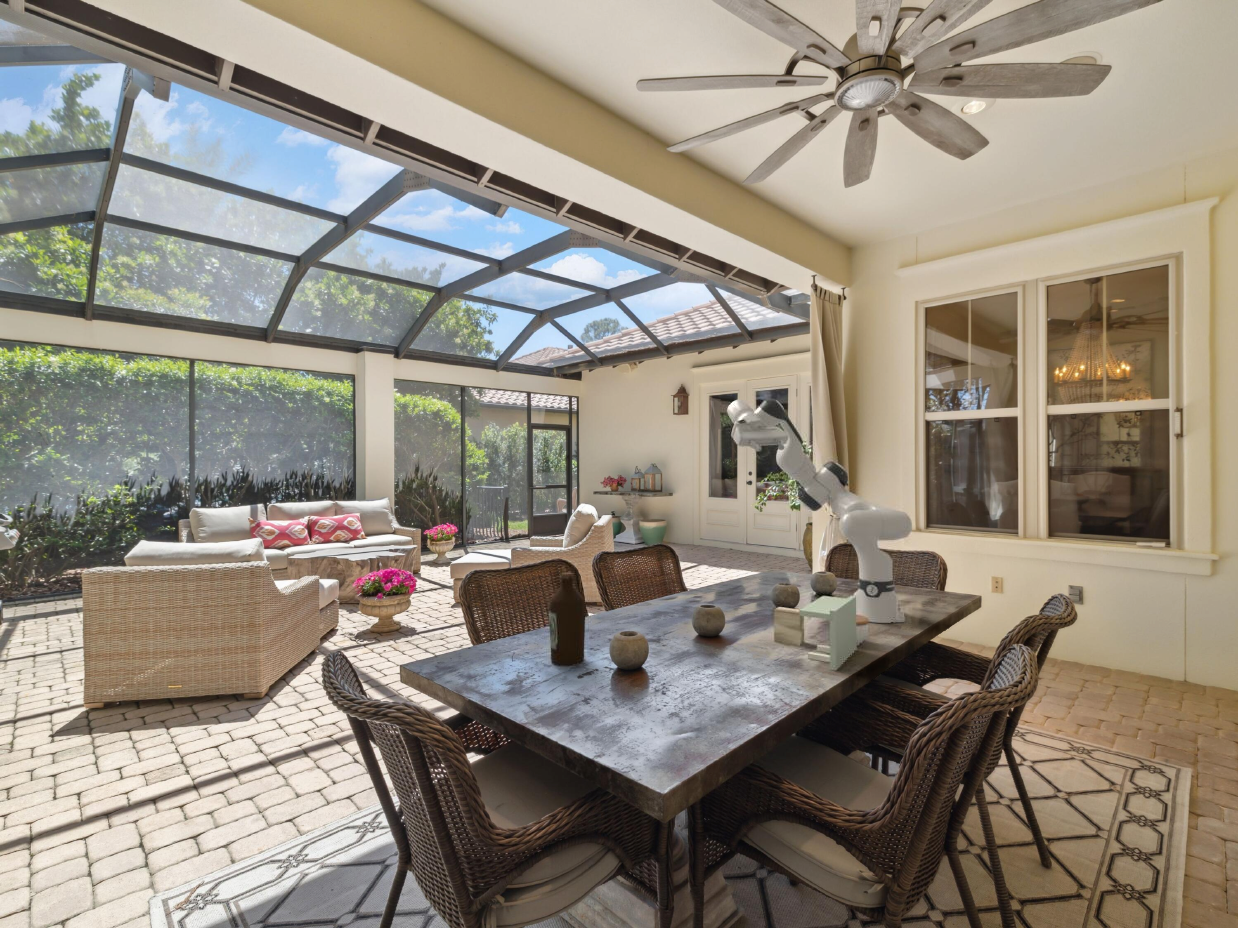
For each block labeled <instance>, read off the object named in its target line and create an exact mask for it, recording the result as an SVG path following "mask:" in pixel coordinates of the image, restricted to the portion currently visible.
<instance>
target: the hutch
mask: <svg viewBox="0 0 1238 928" xmlns="http://www.w3.org/2000/svg"><path fill="white" fill-rule="evenodd" d="M798 610H799V616H804V617H809V618H815V619H822V620H828V621H829V645H823V644H817V645H816V651H817V652H812V651H809V652H807V659H809V660H814V661H820V662H825V663H829V670H830V669H831V670H830V671H834V670H836V671H837V670H839V668H840V667H841V666H842V665H843V664H844V663H845V662H846V661H847V660H848V659H849V658H850V657H851V656H852V655H853V654H854V653H855V652H856V651H858V650H857V649H858V648H857V646H858V645H857V635H856V596H854V595H850V596H849V597H847V598H844V597H835V596H827V595H822V596H821V597H819V598H817V599H815V600H813V601H812V602H810V603H809V604H807V605H806V606H804V607H802V608H801V609H798ZM855 650H856V651H855ZM854 651H855V652H854ZM818 652H821V653H818ZM823 653H826V654H823ZM827 653H828V654H827ZM852 653H853V654H852ZM850 655H851V656H850ZM848 657H849V658H848ZM847 658H848V659H847ZM845 660H846V661H845ZM843 662H844V663H843ZM841 664H842V665H841Z"/></svg>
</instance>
